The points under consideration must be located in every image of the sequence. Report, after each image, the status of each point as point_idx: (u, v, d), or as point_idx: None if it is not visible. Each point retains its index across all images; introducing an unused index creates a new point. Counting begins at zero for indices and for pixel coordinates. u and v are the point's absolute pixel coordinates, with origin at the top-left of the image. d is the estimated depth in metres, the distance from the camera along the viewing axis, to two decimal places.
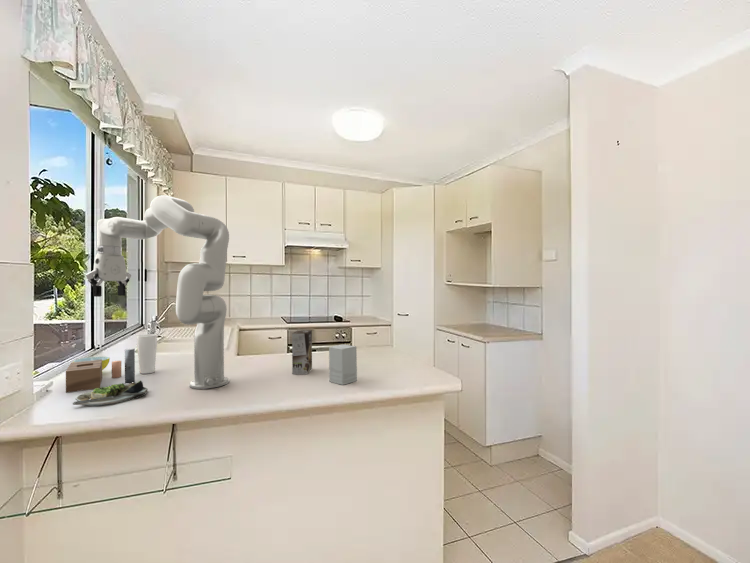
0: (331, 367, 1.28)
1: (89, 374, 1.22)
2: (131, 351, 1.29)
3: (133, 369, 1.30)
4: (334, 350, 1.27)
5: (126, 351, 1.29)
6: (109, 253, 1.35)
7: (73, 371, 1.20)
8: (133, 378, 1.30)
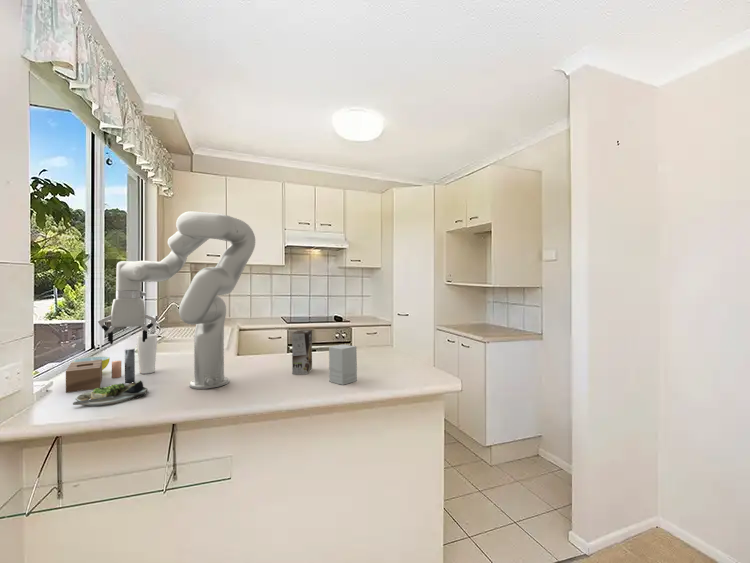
0: (331, 367, 1.28)
1: (89, 374, 1.22)
2: (131, 351, 1.29)
3: (133, 369, 1.30)
4: (334, 350, 1.27)
5: (126, 351, 1.29)
6: None
7: (73, 371, 1.20)
8: (133, 378, 1.30)
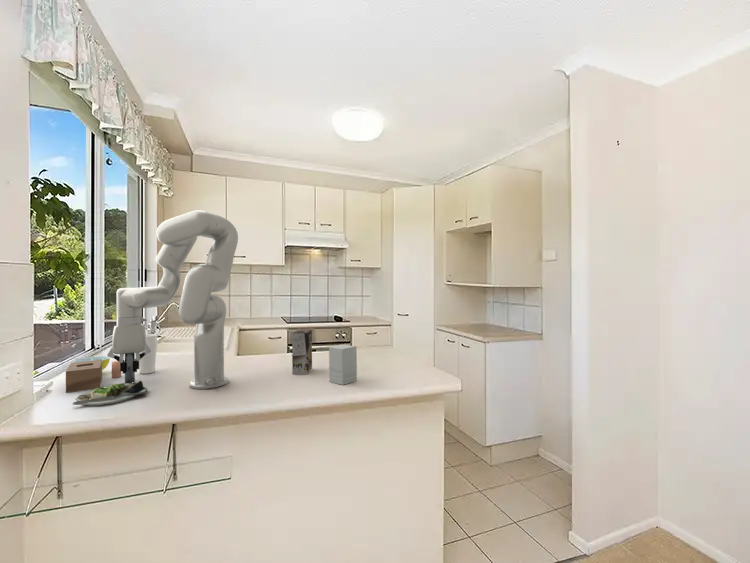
0: (331, 367, 1.28)
1: (89, 374, 1.22)
2: None
3: (133, 369, 1.30)
4: (334, 350, 1.27)
5: None
6: None
7: (73, 371, 1.20)
8: (133, 378, 1.30)
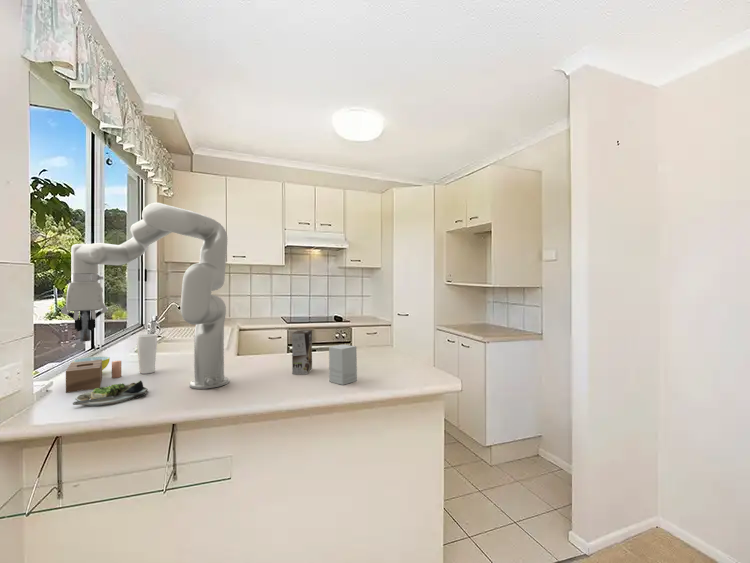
0: (331, 367, 1.28)
1: (89, 374, 1.22)
2: None
3: (89, 327, 1.28)
4: (334, 350, 1.27)
5: None
6: None
7: (73, 371, 1.20)
8: (89, 336, 1.27)
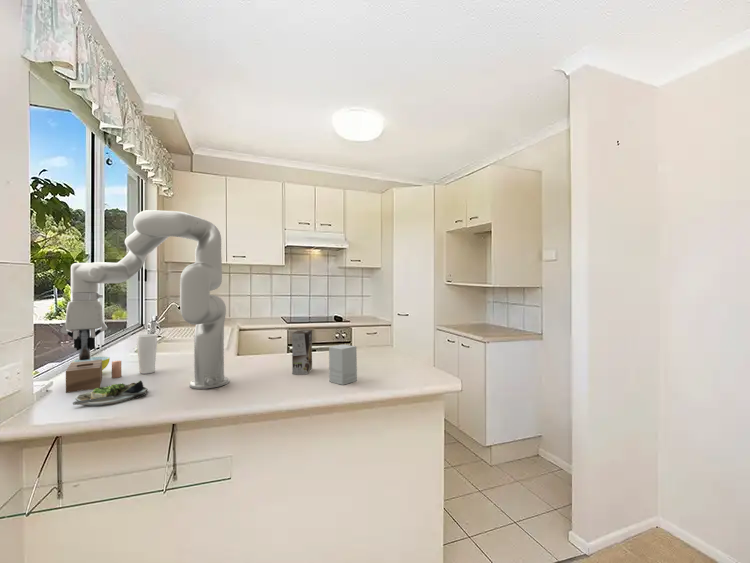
0: (331, 367, 1.28)
1: (89, 374, 1.22)
2: None
3: (88, 346, 1.27)
4: (334, 350, 1.27)
5: None
6: None
7: (73, 371, 1.20)
8: (88, 355, 1.27)
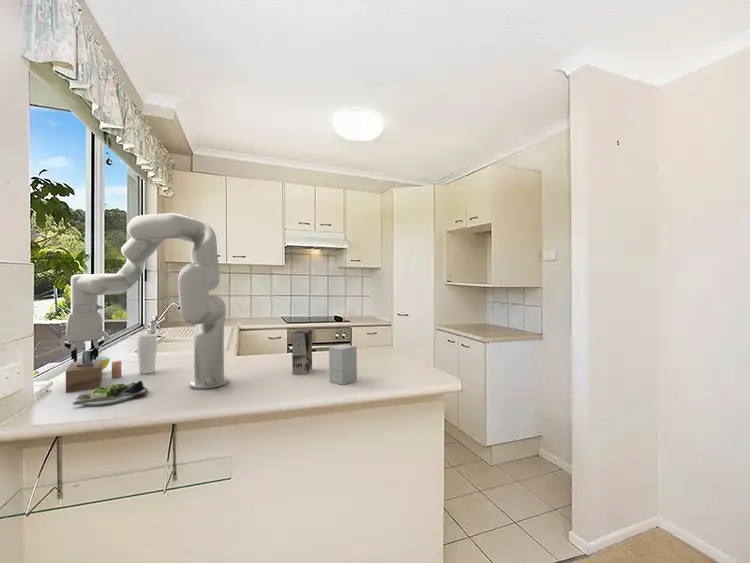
0: (331, 367, 1.28)
1: (89, 374, 1.22)
2: (89, 352, 1.27)
3: None
4: (334, 350, 1.27)
5: (84, 352, 1.27)
6: None
7: (73, 371, 1.20)
8: None
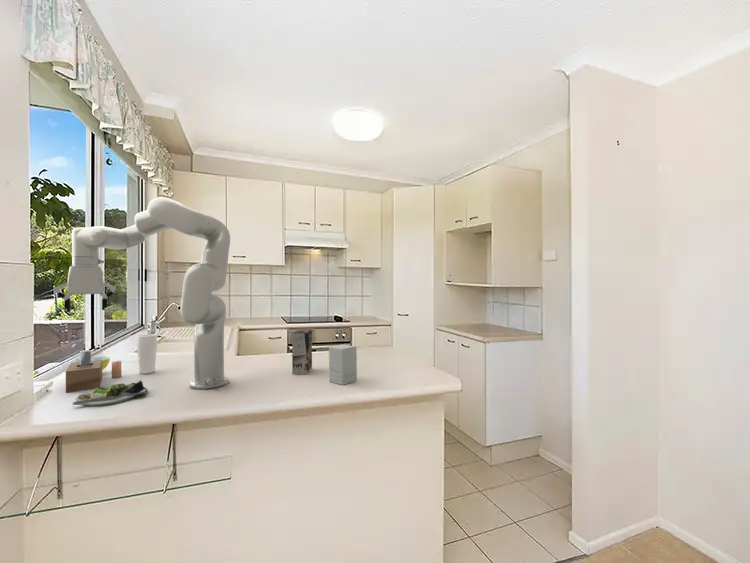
0: (331, 367, 1.28)
1: (89, 374, 1.22)
2: (87, 353, 1.27)
3: None
4: (334, 350, 1.27)
5: (81, 353, 1.26)
6: None
7: (73, 371, 1.20)
8: None
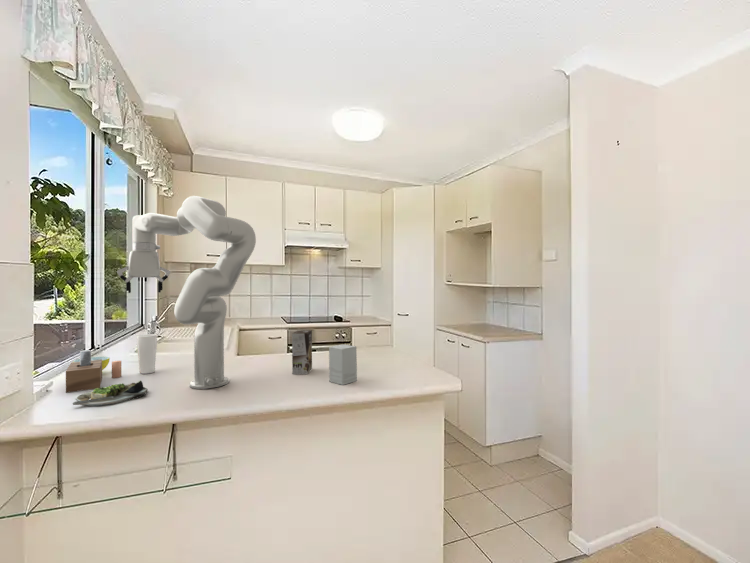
0: (331, 367, 1.28)
1: (89, 374, 1.22)
2: (87, 353, 1.27)
3: None
4: (334, 350, 1.27)
5: (81, 353, 1.26)
6: None
7: (73, 371, 1.20)
8: None
